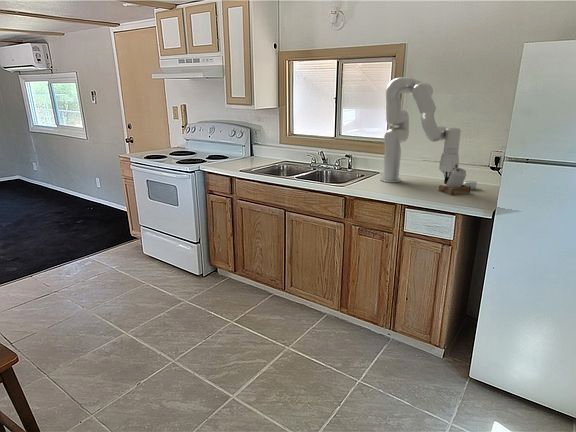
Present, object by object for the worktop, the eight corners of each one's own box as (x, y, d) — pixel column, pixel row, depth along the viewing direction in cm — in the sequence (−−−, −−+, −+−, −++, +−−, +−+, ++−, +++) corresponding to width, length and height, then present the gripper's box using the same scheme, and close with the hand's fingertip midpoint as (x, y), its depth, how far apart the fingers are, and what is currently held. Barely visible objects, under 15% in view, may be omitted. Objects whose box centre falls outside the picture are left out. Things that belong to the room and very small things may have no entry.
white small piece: (459, 188, 222) (460, 181, 221) (467, 187, 226) (468, 180, 225) (470, 190, 216) (471, 183, 215) (478, 189, 220) (479, 182, 219)
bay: (438, 190, 217) (439, 184, 216) (456, 188, 221) (457, 182, 220) (451, 195, 208) (452, 189, 207) (469, 193, 212) (470, 186, 211)
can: (448, 184, 220) (456, 165, 214) (460, 190, 217) (469, 171, 210) (442, 188, 215) (451, 168, 209) (455, 194, 212) (464, 174, 205)
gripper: (435, 149, 219) (432, 181, 225) (455, 153, 206) (451, 187, 211) (446, 148, 222) (443, 180, 227) (466, 152, 208) (462, 185, 214)
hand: (447, 183), depth 219 cm, fingers closed
